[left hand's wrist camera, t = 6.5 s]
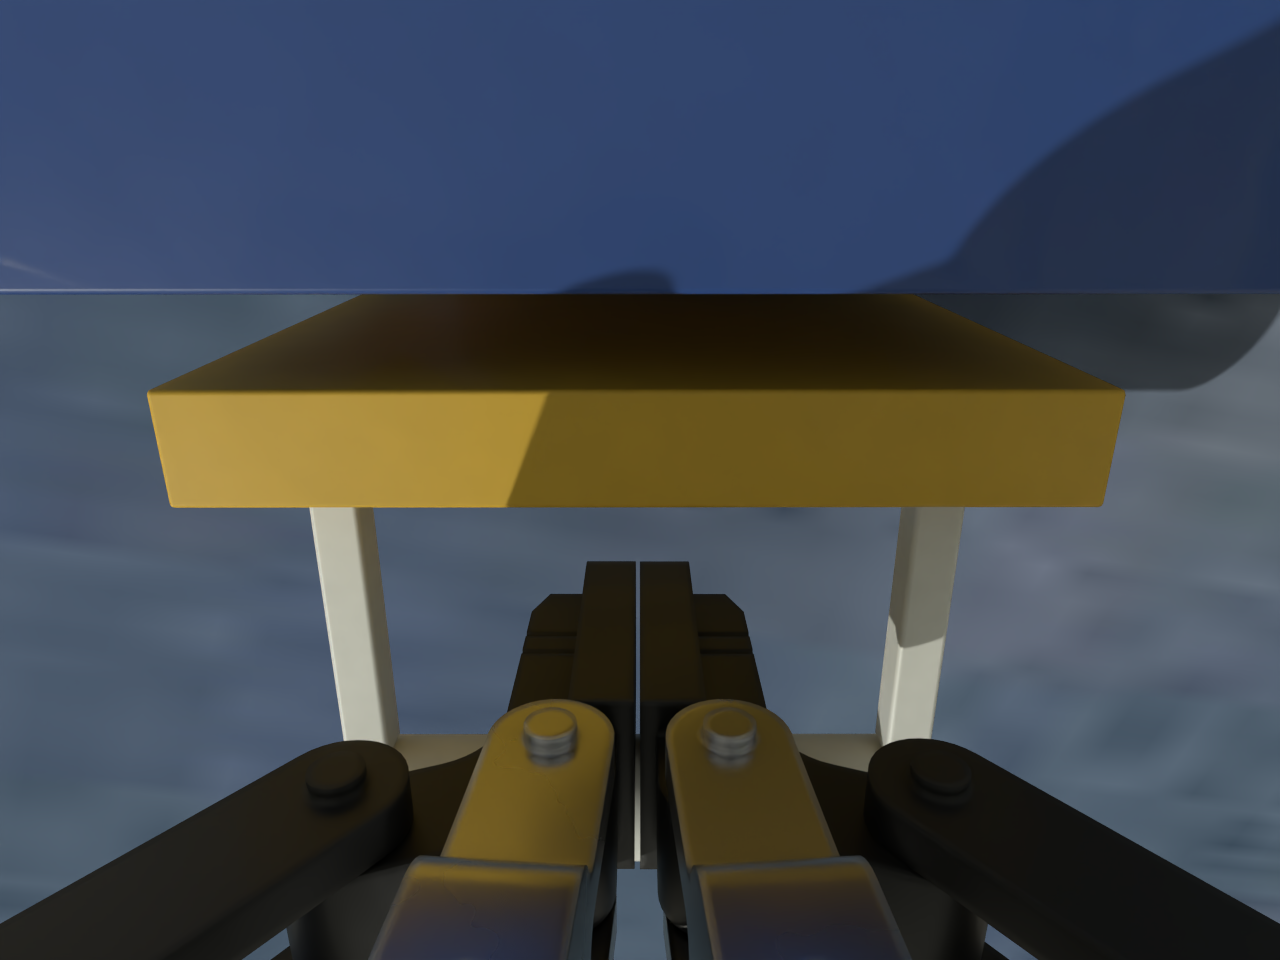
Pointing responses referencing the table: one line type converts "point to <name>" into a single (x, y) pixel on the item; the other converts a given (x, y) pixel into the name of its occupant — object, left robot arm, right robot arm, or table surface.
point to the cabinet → (639, 146)
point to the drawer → (636, 443)
